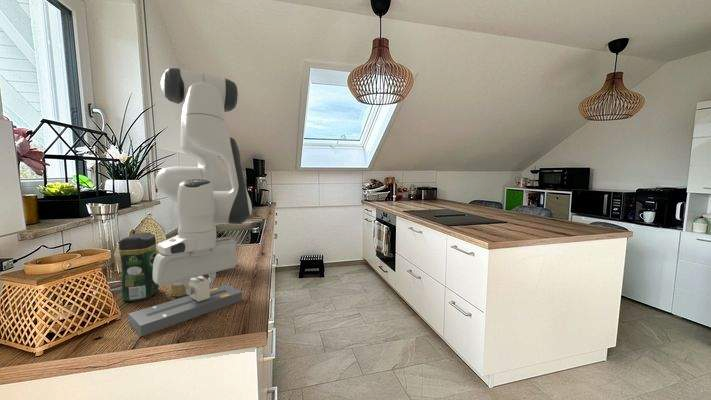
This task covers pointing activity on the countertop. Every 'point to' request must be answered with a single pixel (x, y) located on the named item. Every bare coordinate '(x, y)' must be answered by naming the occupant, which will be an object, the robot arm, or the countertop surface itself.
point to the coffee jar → (138, 266)
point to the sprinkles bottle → (178, 289)
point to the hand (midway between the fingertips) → (199, 291)
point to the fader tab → (200, 288)
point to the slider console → (181, 310)
